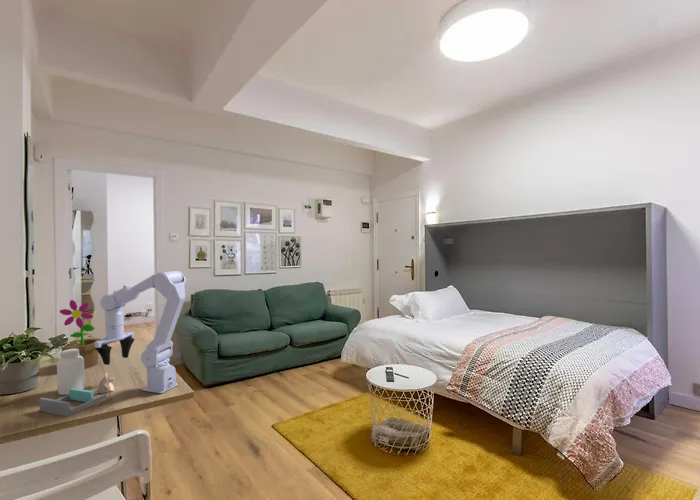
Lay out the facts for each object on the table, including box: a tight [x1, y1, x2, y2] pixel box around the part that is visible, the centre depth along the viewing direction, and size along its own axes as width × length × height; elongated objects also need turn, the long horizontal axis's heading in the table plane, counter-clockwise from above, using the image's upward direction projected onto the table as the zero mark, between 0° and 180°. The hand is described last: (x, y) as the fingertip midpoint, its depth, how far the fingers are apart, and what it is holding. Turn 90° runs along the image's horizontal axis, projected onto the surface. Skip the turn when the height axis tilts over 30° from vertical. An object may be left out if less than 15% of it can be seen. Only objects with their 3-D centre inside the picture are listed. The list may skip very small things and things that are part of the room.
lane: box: [38, 393, 107, 417], centre depth 121 cm, size 13×13×4 cm
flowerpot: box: [59, 299, 103, 370], centre depth 157 cm, size 14×14×30 cm
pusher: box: [69, 388, 95, 403], centre depth 123 cm, size 10×1×4 cm, turn 72°
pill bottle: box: [56, 349, 86, 396], centre depth 132 cm, size 8×8×15 cm
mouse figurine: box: [94, 372, 116, 395], centre depth 131 cm, size 5×8×7 cm, turn 114°
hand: (116, 360), depth 136 cm, fingers open, 7 cm apart
